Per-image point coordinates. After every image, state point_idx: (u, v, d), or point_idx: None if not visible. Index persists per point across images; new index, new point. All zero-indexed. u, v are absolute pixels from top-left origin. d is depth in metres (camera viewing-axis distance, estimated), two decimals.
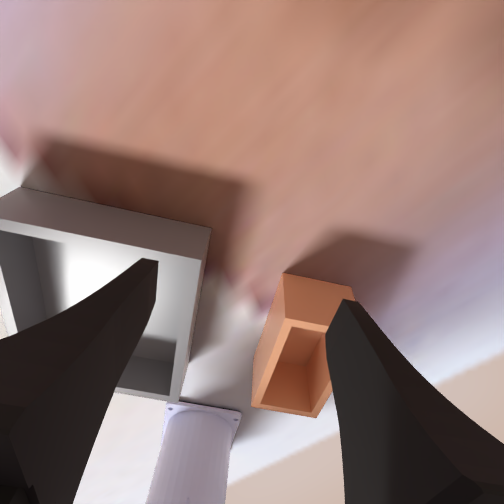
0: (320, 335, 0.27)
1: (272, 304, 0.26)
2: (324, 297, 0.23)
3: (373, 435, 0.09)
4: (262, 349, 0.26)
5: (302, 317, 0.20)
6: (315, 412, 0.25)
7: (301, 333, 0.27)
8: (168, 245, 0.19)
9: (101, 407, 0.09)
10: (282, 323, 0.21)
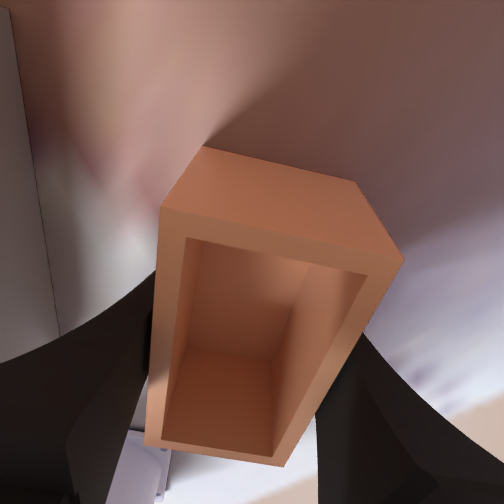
0: (294, 298, 0.13)
1: None
2: (291, 187, 0.09)
3: (344, 430, 0.09)
4: None
5: (216, 210, 0.07)
6: (281, 457, 0.12)
7: (256, 295, 0.13)
8: None
9: (129, 412, 0.09)
10: None
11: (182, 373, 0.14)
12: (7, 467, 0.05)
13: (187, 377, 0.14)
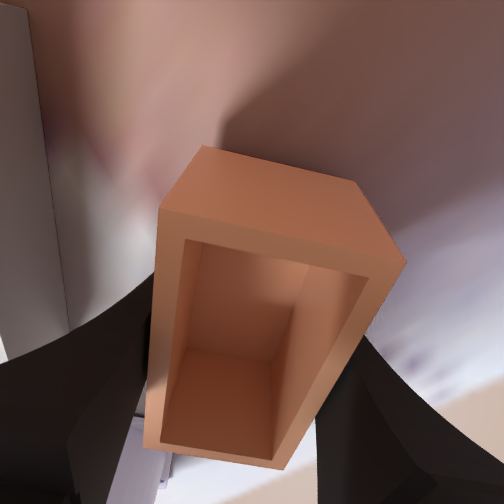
0: (294, 299, 0.13)
1: None
2: (292, 188, 0.09)
3: (344, 430, 0.09)
4: None
5: (216, 212, 0.07)
6: (281, 460, 0.12)
7: (256, 297, 0.13)
8: None
9: (130, 412, 0.09)
10: None
11: (181, 375, 0.14)
12: (8, 467, 0.05)
13: (186, 379, 0.14)
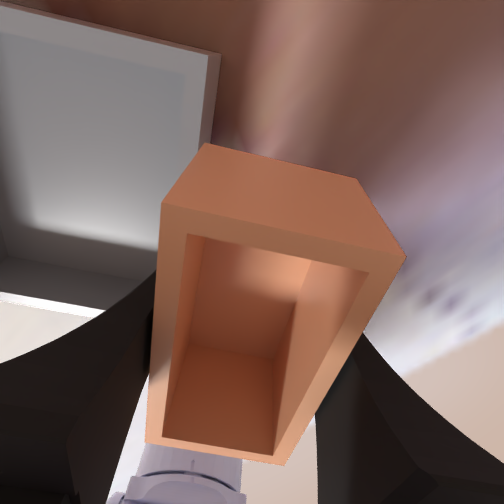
0: (295, 296, 0.13)
1: None
2: (293, 184, 0.09)
3: (344, 430, 0.09)
4: None
5: (218, 207, 0.07)
6: (282, 455, 0.12)
7: (257, 293, 0.13)
8: (156, 41, 0.12)
9: (130, 412, 0.09)
10: None
11: (183, 371, 0.14)
12: (8, 467, 0.05)
13: (188, 375, 0.14)
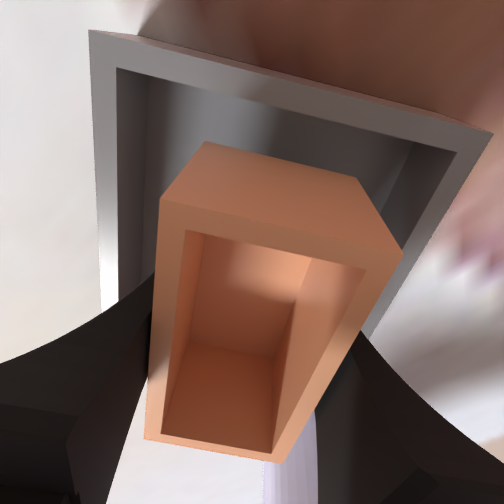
0: (295, 295, 0.13)
1: None
2: (292, 182, 0.09)
3: (344, 430, 0.09)
4: None
5: (216, 204, 0.07)
6: (280, 453, 0.12)
7: (257, 292, 0.13)
8: (421, 113, 0.11)
9: (130, 412, 0.09)
10: (160, 222, 0.07)
11: (183, 369, 0.14)
12: (8, 467, 0.05)
13: (188, 373, 0.14)
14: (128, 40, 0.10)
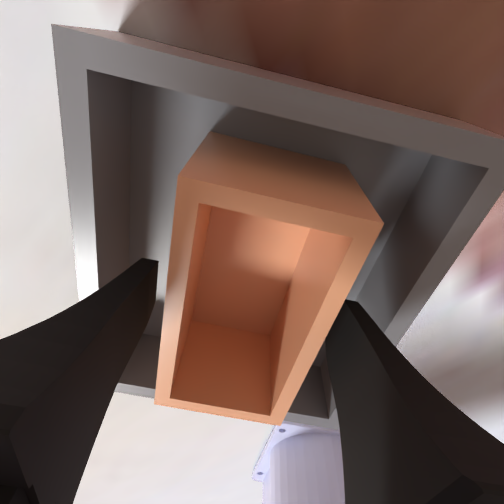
0: (291, 274, 0.15)
1: None
2: (289, 167, 0.10)
3: (373, 435, 0.09)
4: None
5: (225, 181, 0.08)
6: (279, 415, 0.13)
7: (256, 271, 0.15)
8: (446, 122, 0.09)
9: (101, 407, 0.09)
10: (177, 197, 0.08)
11: (188, 344, 0.15)
12: None
13: (192, 347, 0.15)
14: (100, 37, 0.08)
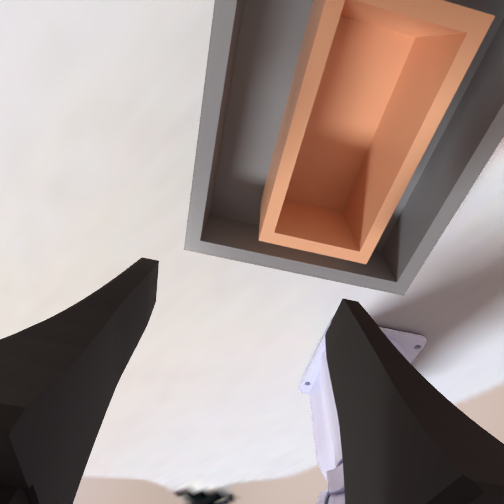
0: (370, 140, 0.17)
1: (295, 71, 0.15)
2: None
3: (373, 435, 0.09)
4: (277, 148, 0.15)
5: None
6: (367, 250, 0.15)
7: (339, 138, 0.17)
8: None
9: (101, 407, 0.09)
10: None
11: None
12: None
13: (280, 209, 0.17)
14: None
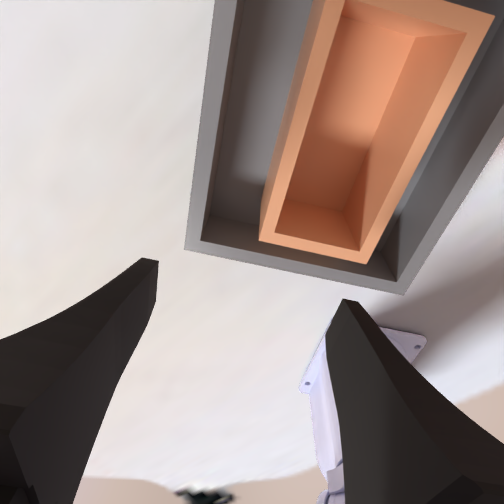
0: (370, 140, 0.17)
1: (295, 71, 0.15)
2: None
3: (373, 435, 0.09)
4: (277, 148, 0.15)
5: None
6: (367, 250, 0.15)
7: (339, 138, 0.17)
8: None
9: (101, 407, 0.09)
10: None
11: None
12: None
13: (280, 209, 0.17)
14: None
